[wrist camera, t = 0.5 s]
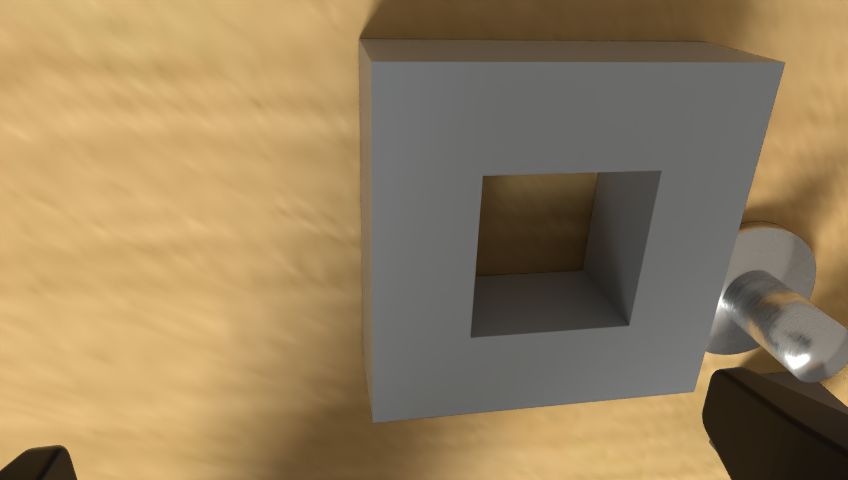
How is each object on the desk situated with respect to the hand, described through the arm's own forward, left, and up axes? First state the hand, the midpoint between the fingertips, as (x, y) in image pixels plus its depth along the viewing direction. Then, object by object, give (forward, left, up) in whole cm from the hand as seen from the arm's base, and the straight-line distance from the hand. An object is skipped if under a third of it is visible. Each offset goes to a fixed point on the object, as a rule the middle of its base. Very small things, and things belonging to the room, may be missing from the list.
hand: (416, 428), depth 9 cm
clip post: (-7, -16, -14) cm, 22 cm away
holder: (-3, -6, -14) cm, 15 cm away
